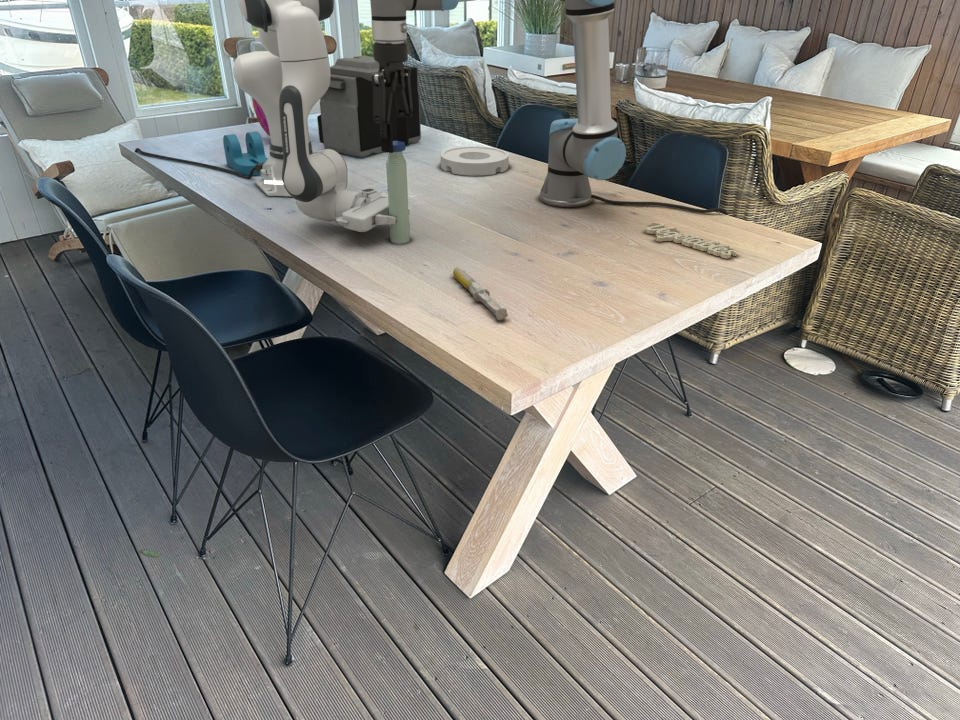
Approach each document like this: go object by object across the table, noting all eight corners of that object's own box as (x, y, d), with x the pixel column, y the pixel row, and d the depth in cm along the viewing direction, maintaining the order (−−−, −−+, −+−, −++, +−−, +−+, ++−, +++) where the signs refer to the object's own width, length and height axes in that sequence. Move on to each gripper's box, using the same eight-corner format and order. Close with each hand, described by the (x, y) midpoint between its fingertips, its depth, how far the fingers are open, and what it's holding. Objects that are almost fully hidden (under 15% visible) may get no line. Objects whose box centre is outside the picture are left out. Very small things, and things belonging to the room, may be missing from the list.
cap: (396, 153, 159) (395, 146, 158) (381, 150, 162) (381, 143, 161) (409, 149, 162) (408, 142, 162) (394, 146, 165) (394, 139, 164)
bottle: (397, 235, 176) (392, 142, 164) (413, 239, 174) (409, 144, 162) (386, 241, 172) (381, 146, 161) (403, 245, 171) (398, 148, 159)
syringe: (449, 274, 155) (449, 263, 153) (465, 272, 156) (464, 260, 154) (490, 323, 135) (491, 310, 133) (508, 319, 136) (508, 307, 134)
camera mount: (227, 164, 233) (221, 132, 227) (257, 160, 238) (252, 129, 233) (244, 176, 220) (239, 143, 215) (276, 172, 225) (271, 139, 220)
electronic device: (383, 133, 276) (378, 52, 261) (425, 141, 265) (422, 56, 250) (314, 150, 251) (304, 61, 235) (358, 160, 240) (350, 67, 224)
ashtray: (443, 157, 245) (443, 145, 243) (508, 158, 244) (508, 146, 242) (437, 174, 225) (437, 162, 223) (508, 176, 224) (508, 163, 222)
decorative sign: (632, 229, 179) (655, 221, 185) (631, 232, 179) (654, 224, 185) (722, 258, 162) (744, 248, 168) (721, 262, 162) (743, 252, 168)
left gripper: (329, 208, 165) (379, 216, 160) (374, 186, 181) (421, 193, 176) (332, 233, 168) (380, 242, 163) (376, 209, 184) (421, 216, 179)
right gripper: (381, 47, 141) (388, 160, 153) (426, 38, 157) (428, 141, 168) (350, 45, 144) (359, 156, 155) (397, 36, 159) (401, 138, 171)
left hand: (402, 216), depth 170 cm, fingers closed on bottle, 5 cm apart
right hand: (395, 148), depth 162 cm, fingers open, 7 cm apart
